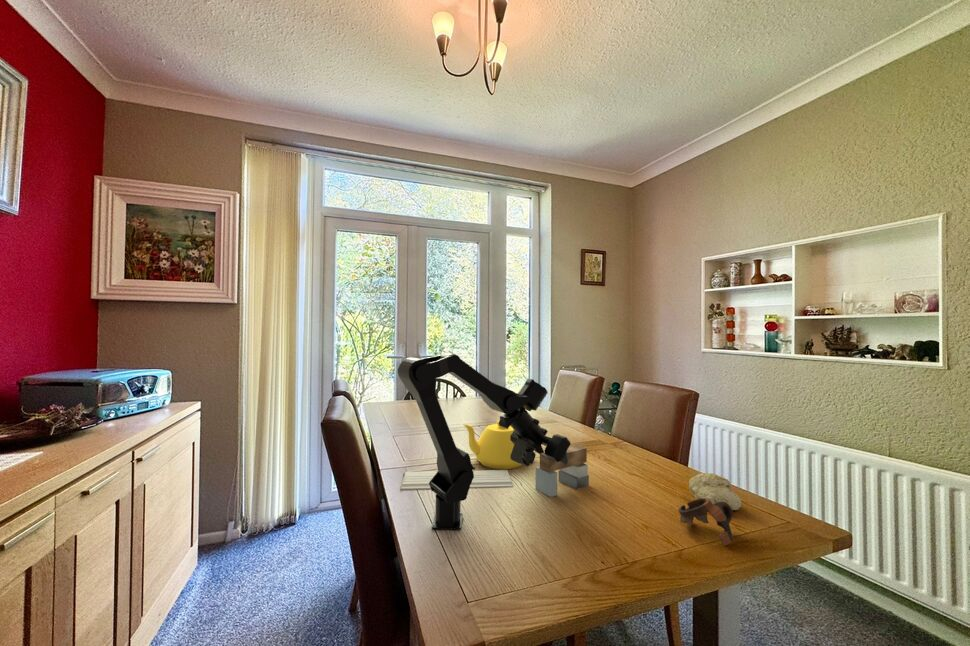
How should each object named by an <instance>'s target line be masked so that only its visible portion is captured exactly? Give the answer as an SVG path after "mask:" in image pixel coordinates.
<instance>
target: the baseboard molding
mask: <svg viewBox="0 0 970 646" xmlns="http://www.w3.org/2000/svg"><path fill="white" fill-rule="evenodd" d="M437 472H438V470H437V471H435V470H434V471H405V472H404V473H403V474H402V480H401V483H400V484H401V487H400V493H401V491H409V490H410V489H411V490H410V491H415V490H419V489H420V490H431V488H430V485H429V482H430V481H431V479H432V478H433V477H434V476H435V474H436V473H437ZM473 473H474V479H473V480H472V483H471V485H470V488H469V489H483V488H484V489H487V488H488V489H489V488H513V480H512V478H511V476H510V473H509V471H508V469H491V470H490V469H489V470H488V469H487V470H486V469H484V470H473Z"/></svg>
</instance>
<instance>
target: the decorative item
mask: <svg viewBox="0 0 970 646" xmlns="http://www.w3.org/2000/svg"><path fill="white" fill-rule="evenodd" d="M688 485H689V486H688V487H689V488H688V489H689V491H690V493H692V495H694V500H696V499H700V498H708V499H710V501H711V503H712V504H715V503H717V502H726V503H727V504H728V505H729V506H730V507H731V509H732V512H733V511H737V510H739V509H741V505H742V501H741V498H740V496H739V495H738V494H737V493H735V492H734V491H733V490H732V484H731V481H730V480H729V479H727V478H725V477H724V476H721V475H719V474H716V473H709V472H708V473H707V472H701V473H698V474H696V475H695V476H693V477H691V478H690V479H689V481H688ZM722 511H723V509H722Z"/></svg>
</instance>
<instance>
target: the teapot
mask: <svg viewBox="0 0 970 646" xmlns="http://www.w3.org/2000/svg"><path fill="white" fill-rule="evenodd" d="M499 421H500V419H499V420H497V421H496V423H493V424H489V425H487V426H486V427H485V429H483V431H482V433H481V435H480V436H479V439H478V441H477V440H476V437H475V436H476V435H475V430H474V427H473V426H472V425H469V424H465V423H462V425H463V426H464V427H465V428H466V430H467V433H468V444H469V445H468V446H469V448H470V451H471V452H472V453H473V454H475V456H476V459H477V460H478V461H479V462H480V464H481V465H482V464H483V465H482V466H484V467H486V468H489V467H490V468H491V469H493V470H510V469H511V470H512V469H517V468H519V467H521V466H523V465H522V464H520V463H517V462H515V461H513V460H511V458H510V456H511V453H512V450H513V447H514V444H513V442H512V441H511V440H510V436H511V434H512V433H513V431H514V429H513V428H512V427H511V426H510V427H509V428H508V429H507V428H504V427H501V426H499Z"/></svg>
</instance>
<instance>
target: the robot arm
mask: <svg viewBox="0 0 970 646" xmlns="http://www.w3.org/2000/svg"><path fill="white" fill-rule="evenodd" d="M447 374H450V375H451V376H452V377H454V378H456V379H457V380H458V381H460V382H461V383H462V384H464V385H465V386H467V387H469V389H471V390H472V391H474V392H476V394H478V395H479V396H480V397H481V399H482V401H483V402H484V403H485V405H487V407H488V408H489V409H491V410H493V411H496V412H499V413H502V414H503V415H500V416H499V420H500V421H499V426H501V427H504V428H507V429H508V428H509V427H510V426H511V427H512V428H513V429H514V431H513V433H512V434H511V436H510V440H511V441H512V442H513V444H514V447H513V450H512V453H511V456H510V458H511V460H513V461H515V462H517V463H520V464H522V465H521V466H525V467H529V466H530V465H533V464H534V462H535V460H536V456H537V455H536V453H537V454H539V455H540V454H541V453H545V455H546V456H547V457H548V458H549V459H551V460H553V461H556V462H559V461H560V462H561V463H563V464H564V465H566V464H567V463H568V459H567V449H568V448H569V447H571V441H570V440H569V438H568V437H566V436H564V435H560V434H558V433H557V434H553V435H552V437H550V436H547V434H548V432H549V431H548V430H547V429H546V428H543V427H541V425H540V421H539V420H538V419H536V418H533V417H532V416H531V414H530V413H529V412H532V411H537V410H538V409H539V407H540V405H541V403H542V402H543V401H544V399H545V397H546V396H547V395H548V390H547V388H546V387H544V386H543V385H541V384H540V383H538V382H536V381H535V380H534V379H532V378H527V379H526V380H525V382H524V384H523V385H522V387H521V388H520V390H519V391H518V392H515V391H514V390H511V389H509V388H507V387H504V386H501V385H499V384H496V383H495V382H492V381H491V380H490V379H488V378H487V377H486V376H484V375H483V374H481V373H480V372H479V371H478V370H476V369H475V368H473V367H472V366H471V365H469V364H468V363H466V362H465V361H464V360H463V359H461V358H460V356H459V355H457V354H454V353H446V352H445V353H442V354H439V355H436V356H435V355H434V356H430V357H423V358H416V357H407V358H405V359H403V360H402V361H401V363H399V366H398V368H397V375H398V377H399V379H400V380H401V383H402V384H403V385H404V387H405V389H407V391H408V392H409V394H411V396H412V397H413V398H414V399H415V401H416V404H417V406H418V409H419V412H420V413H421V417H422V419H423V422H424V424H425V426H426V429H427V431H428V434H429V437H430V439H431V440H432V441H431V442H432V444H433V447H434V448H435V451H436V454H437V455H436V467H437V471H438V472H437V473H436V474H435V476H434V477H433V478H432V479H431V481H430V482H429V485H430V488H431V489H430V491H431V492H432V493H434V494H435V505H434V506H435V508H434V509H435V512H434V513H435V514H434V517H433V521H432V524H431V529H432V530H451V531H453V530H455V531H458V530H461V529H462V525H463V519H464V513H461V502H463V501H465V500H466V499H467V497H468V494H469V491H470V489H471V488H470V485H471V483H472V480H473V479H474V473H473V471H474V470H475V469H476V468H475V466H474V465H473V464H472V461H471V457H470V454H469V453H468V452H466V451H465V450H463V449H461V448H458V446H457V445H456V443H455V439H454V438H453V435H452V433H451V431H450V428H449V425H448V422H447V420H446V417H445V415H444V412H443V409H442V406H441V404H440V402H439V399H438V397H437V393H436V391H437V379H438V378H441V377H444V376H446V375H447ZM528 411H529V412H528ZM543 446H545V448H543Z"/></svg>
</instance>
